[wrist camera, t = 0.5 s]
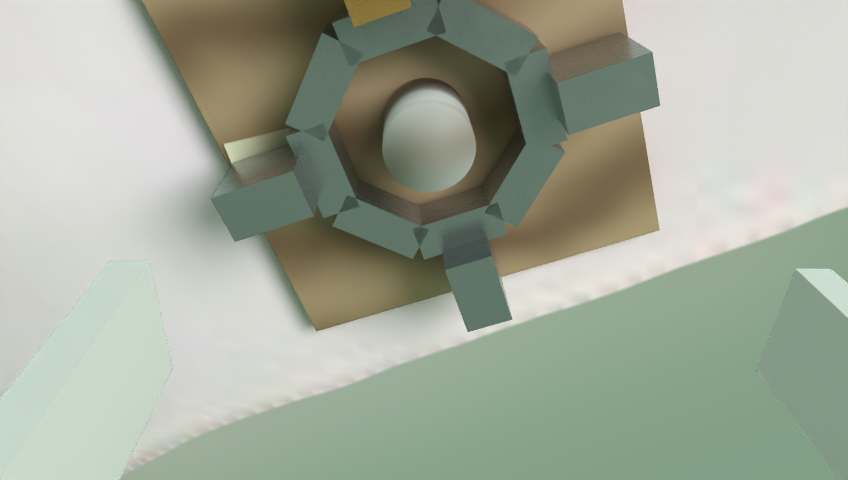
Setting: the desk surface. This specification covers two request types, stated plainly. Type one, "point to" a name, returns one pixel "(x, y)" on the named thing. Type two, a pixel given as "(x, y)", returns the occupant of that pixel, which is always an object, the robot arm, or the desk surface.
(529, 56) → the ring nut
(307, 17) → the board
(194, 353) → the desk surface
